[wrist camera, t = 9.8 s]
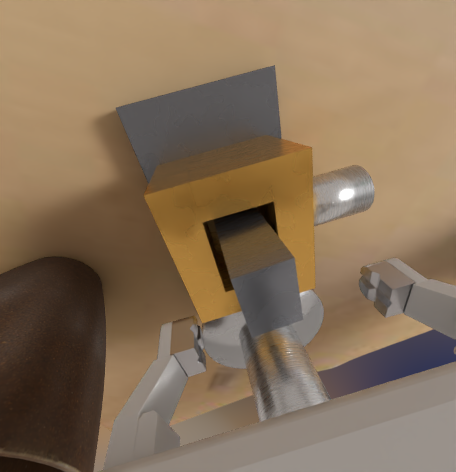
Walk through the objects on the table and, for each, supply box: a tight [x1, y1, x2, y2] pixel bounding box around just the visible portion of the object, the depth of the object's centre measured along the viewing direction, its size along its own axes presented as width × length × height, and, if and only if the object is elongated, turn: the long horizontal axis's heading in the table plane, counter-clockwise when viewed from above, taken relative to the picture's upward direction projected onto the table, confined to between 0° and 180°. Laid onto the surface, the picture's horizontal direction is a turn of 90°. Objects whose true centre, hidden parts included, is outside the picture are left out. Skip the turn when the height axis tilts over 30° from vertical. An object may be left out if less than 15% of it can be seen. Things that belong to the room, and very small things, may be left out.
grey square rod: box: [213, 207, 303, 337], centre depth 16 cm, size 3×4×12 cm, turn 16°
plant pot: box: [0, 257, 106, 472], centre depth 17 cm, size 15×15×16 cm
